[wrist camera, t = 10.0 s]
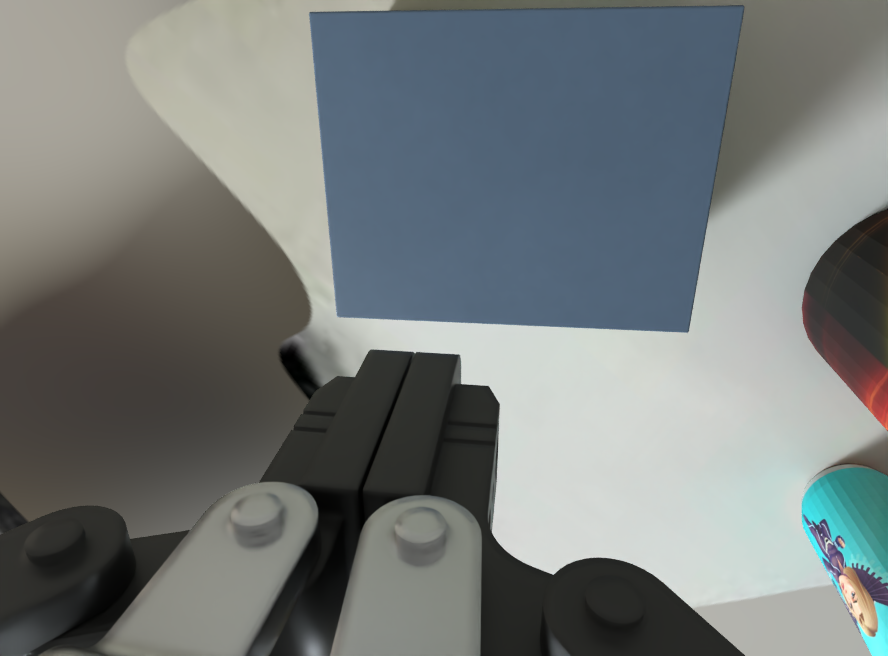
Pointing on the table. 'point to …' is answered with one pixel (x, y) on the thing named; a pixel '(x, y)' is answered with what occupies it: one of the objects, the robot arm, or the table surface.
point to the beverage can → (853, 543)
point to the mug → (854, 311)
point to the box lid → (522, 161)
